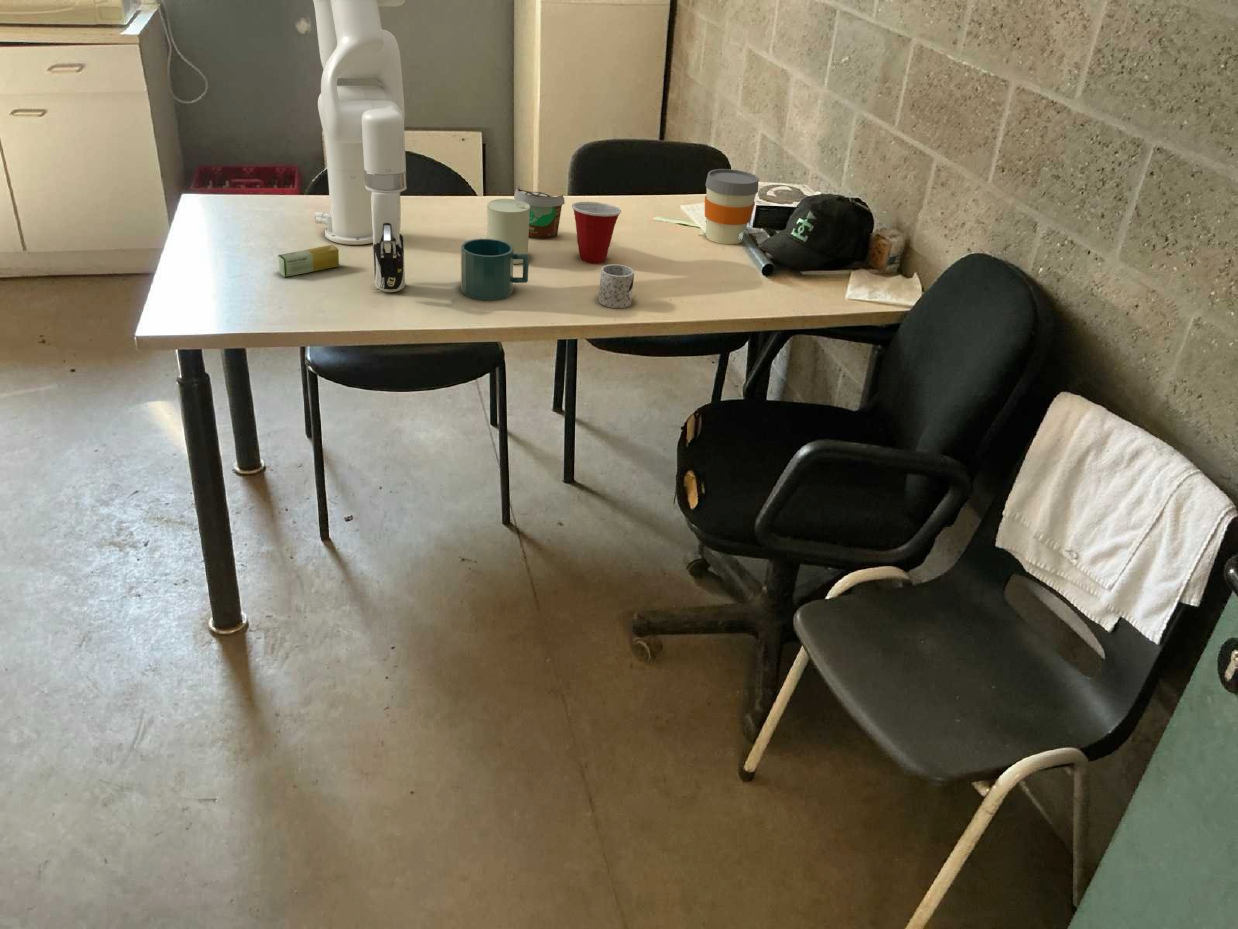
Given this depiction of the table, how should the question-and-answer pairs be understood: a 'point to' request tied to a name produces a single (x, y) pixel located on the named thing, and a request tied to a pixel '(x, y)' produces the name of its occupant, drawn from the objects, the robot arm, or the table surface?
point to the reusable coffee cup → (729, 204)
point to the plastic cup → (594, 229)
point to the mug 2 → (616, 286)
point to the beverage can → (390, 282)
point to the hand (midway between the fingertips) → (389, 267)
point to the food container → (542, 213)
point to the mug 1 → (489, 269)
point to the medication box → (308, 260)
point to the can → (509, 224)
